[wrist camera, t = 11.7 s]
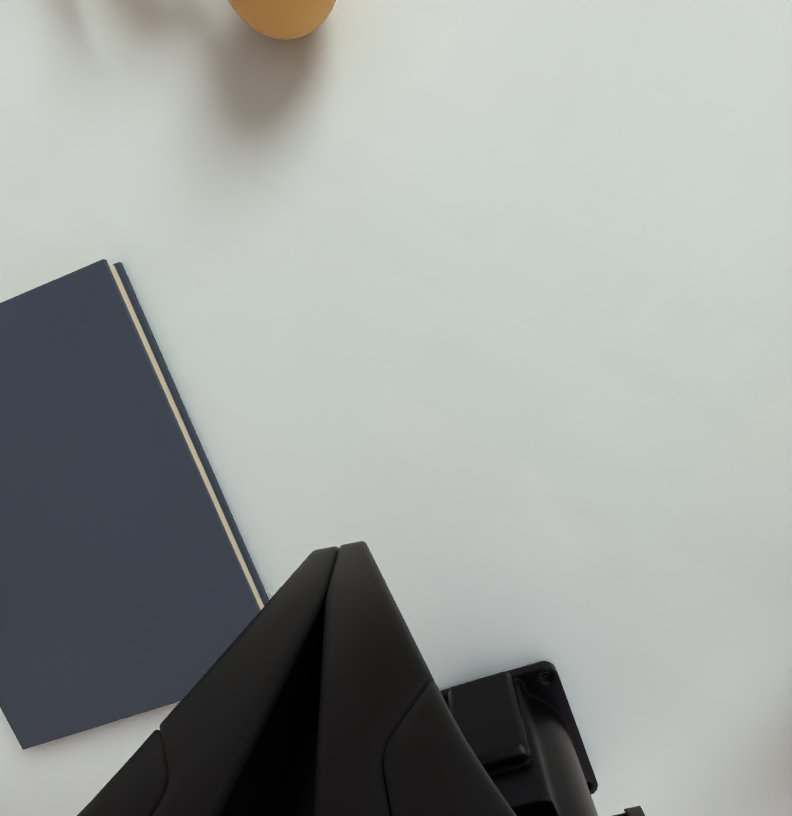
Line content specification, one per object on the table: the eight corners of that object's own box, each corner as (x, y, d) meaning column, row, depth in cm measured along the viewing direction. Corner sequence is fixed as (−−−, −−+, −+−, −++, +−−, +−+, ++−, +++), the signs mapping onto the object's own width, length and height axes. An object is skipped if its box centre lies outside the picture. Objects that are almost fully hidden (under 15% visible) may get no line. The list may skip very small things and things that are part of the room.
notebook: (291, 651, 23) (284, 668, 22) (42, 729, 25) (22, 749, 23) (121, 262, 21) (103, 258, 20) (-144, 374, 22) (-176, 377, 21)
